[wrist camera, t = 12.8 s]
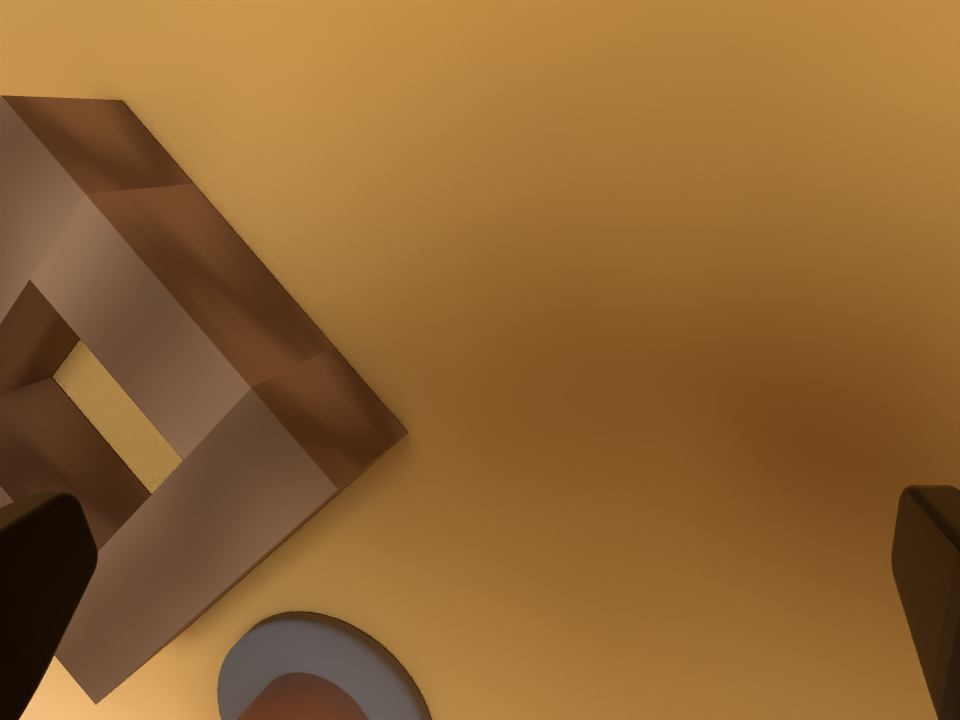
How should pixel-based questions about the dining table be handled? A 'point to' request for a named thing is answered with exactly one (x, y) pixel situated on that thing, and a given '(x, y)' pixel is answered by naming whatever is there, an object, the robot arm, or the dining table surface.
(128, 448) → the dining table surface
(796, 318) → the dining table surface
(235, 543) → the pocket block
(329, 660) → the coaster
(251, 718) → the peg
